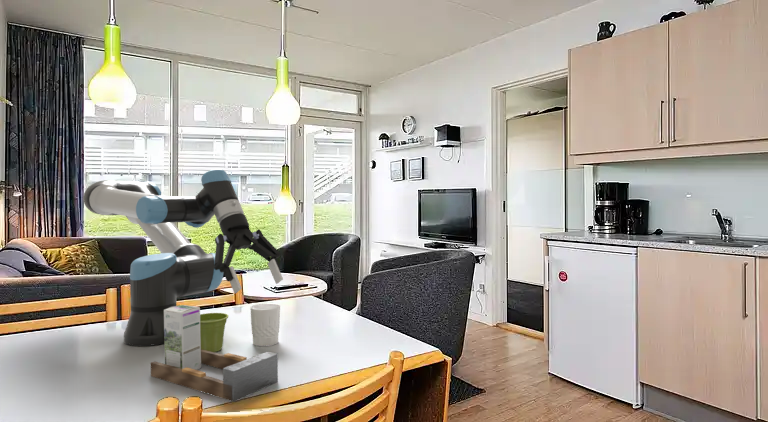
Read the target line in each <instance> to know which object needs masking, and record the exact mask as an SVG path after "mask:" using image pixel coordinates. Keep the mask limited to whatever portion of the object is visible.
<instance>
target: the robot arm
mask: <svg viewBox="0 0 768 422" xmlns="http://www.w3.org/2000/svg"><path fill="white" fill-rule="evenodd" d="M200 182H201V185H202V187H203V188H201V190H200V191H199V192H198V193H197V194H196V195H194V196H191V195H176V196H175V195H174V196H172V195H162V191H161V188H159V186H158V185H157V184H155V183H153V182H151V181H147V180H110V179H107V180H101V181H97V182H93V183H92V184H90V185H88V187H87V188H86V189H85V191H84V193H83V197H82V199H83V204H84V206H85V207H86V209H88V210H89V211H90V212H91V213H94V214H96V215H100V216H101V215H102V216H124V217H126V218H127V219H128V221H129V222H131V223H132V224H134V225H138V226H139V228H141V230H142V231H143V232H144V234H146V236H147V237H148V238H149V239H150V241H151V242H152V243H153V245H154V246H155V247H156V248H157V249H158V251H159V252H160V253H154V254H148V255H144V256H140V257H138V258H136V259H134V260H133V261H132V262H131V264H130V267H129V268H130V271H129V275H128V276H129V282H130V283H129V284H130V285H129V288H130V289H129V290H130V291H129V293H130V314H129V318H128V320H127V324H126V326H125V331H124V334H123V343H124V344H126V345H128V346H132V347H133V346H135V347H137V346H138V347H145V346H146V347H147V346H148V347H149V346H158V345H163V344H164V310H165V309H167V308H170V307H174V306H177V298H180V297H185V296H192V295H197V294H202V293H203V294H205V293H208V292H212V291H215V290H217V289H218V288H219V287H220V285H221V283H222V281H223V279H224V278H225V279H226V281H227V282H229V283H230V286H231V288H232V292H233V293H234V294H237V293H239V291H241V289H242V285H241V283H240V280H239V278H238V275H237V273H236V270H235V268H234V266H233V265H232V266H231V263H232V260H233V257H234V255H235V252H236V250H237V251H240V250H242V249H244V250H246V249H249V250H250V251H253V252H255V253H256V254H258V255H259V256H260V257H262V258H263V259H265V260H266V261H267V266H268V268H269V271H270V274H271V275H272V277H273V280H274V282H275V284H276V285H277V284H280V282H282V281H283V280H284V278H283V276H282V273H281V271H280V269H281V267H280V265H279V262H278V260H277V259H278V258H279V257H280V256H281V252H280V251H279V250H278V249H277V248H276V247H275V246H274V245H273V244H272V243H271V242H270V241H269V240H268V239H267V238H266V237H265V236H264V234H263V232H262V231H261V229H257V230H256V231H253V232H252V231H251V229H250V223H249V221H248V218H247V216H246V215H245V211H244V209H243V207H242V205H241V203H240V201H239V198H238V196H237V194H236V191H235V189H234V186H233V183H232V180H231V179H230V177H229V175H228V174H227V172H226V171H225V170H224V169H221V168H219V169H218V168H214V169H211V170H207V171H206V172H205V173H203V174H202V175H201V178H200ZM214 216H215V219H216V221H217V223H218V225H219V228H220V230H221V233H218V235H217V236H216V237H215V238H214V242H215V252H210V253H206V252H205V250H204V249H203V248H202V247H201V246H200V245H198V244H196V243H191V241H189V239H188V238H187V237H186V236H185V235H184V234H183V233H182V231H181V230H180V229H179V228H178V227H177V225H176V224H175V223H185V224H186V225H187V226H190V227H192V228H197V229H199V228H201V227H203V226H204V225H205V224H207V223H209V221H210V220H211V219H212V218H213V217H214ZM225 243H228V249H227V252H226V254H225ZM224 254H225V257H224ZM223 277H224V278H223Z"/></svg>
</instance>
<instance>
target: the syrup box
mask: <svg viewBox="0 0 768 422" xmlns="http://www.w3.org/2000/svg"><path fill="white" fill-rule="evenodd" d="M200 307H201V306H194V305H185V304H179V305H176V306H174V307H170V308H167V309H165V310H164V364H166V365H170V366H173V367H177V368H180V369H184V368H186V367H188V368H191V369H195V370H198V371H199V370H200V369H202V364H201V337H200V314H201V308H200Z"/></svg>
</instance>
